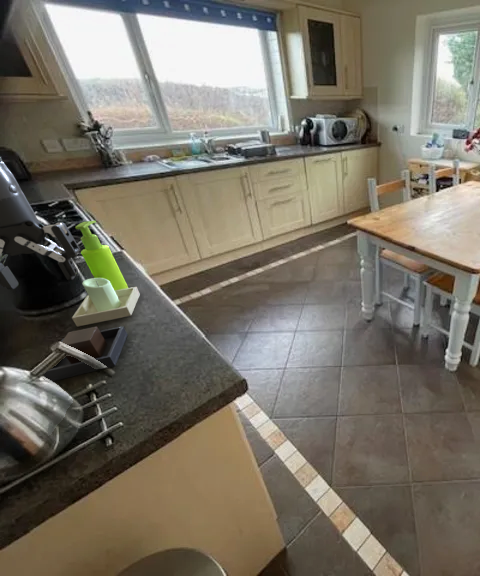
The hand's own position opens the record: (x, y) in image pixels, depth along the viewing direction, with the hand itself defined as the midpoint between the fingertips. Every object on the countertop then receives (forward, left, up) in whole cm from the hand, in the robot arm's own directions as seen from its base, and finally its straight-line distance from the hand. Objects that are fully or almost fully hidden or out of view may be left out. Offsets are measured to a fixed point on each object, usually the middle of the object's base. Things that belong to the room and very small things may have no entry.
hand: (43, 282), depth 60 cm
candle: (-1, +20, -18) cm, 27 cm away
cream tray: (-1, +20, -18) cm, 27 cm away
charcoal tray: (0, 0, -18) cm, 18 cm away
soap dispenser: (-2, +31, -19) cm, 36 cm away
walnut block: (0, 0, -18) cm, 18 cm away
